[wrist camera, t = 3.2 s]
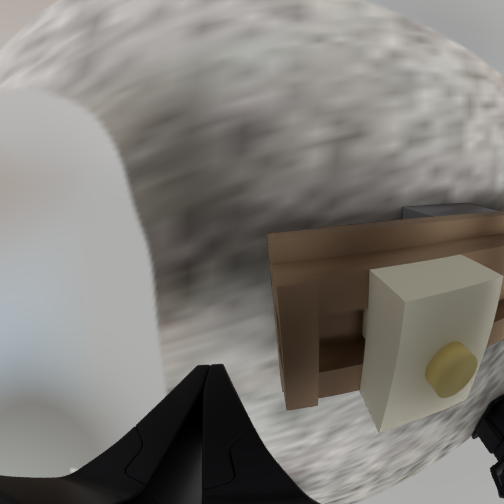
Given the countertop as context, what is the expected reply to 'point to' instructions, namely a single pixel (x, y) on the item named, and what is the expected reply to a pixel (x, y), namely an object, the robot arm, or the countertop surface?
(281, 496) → the robot arm
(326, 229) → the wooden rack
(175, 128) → the countertop surface
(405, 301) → the block
